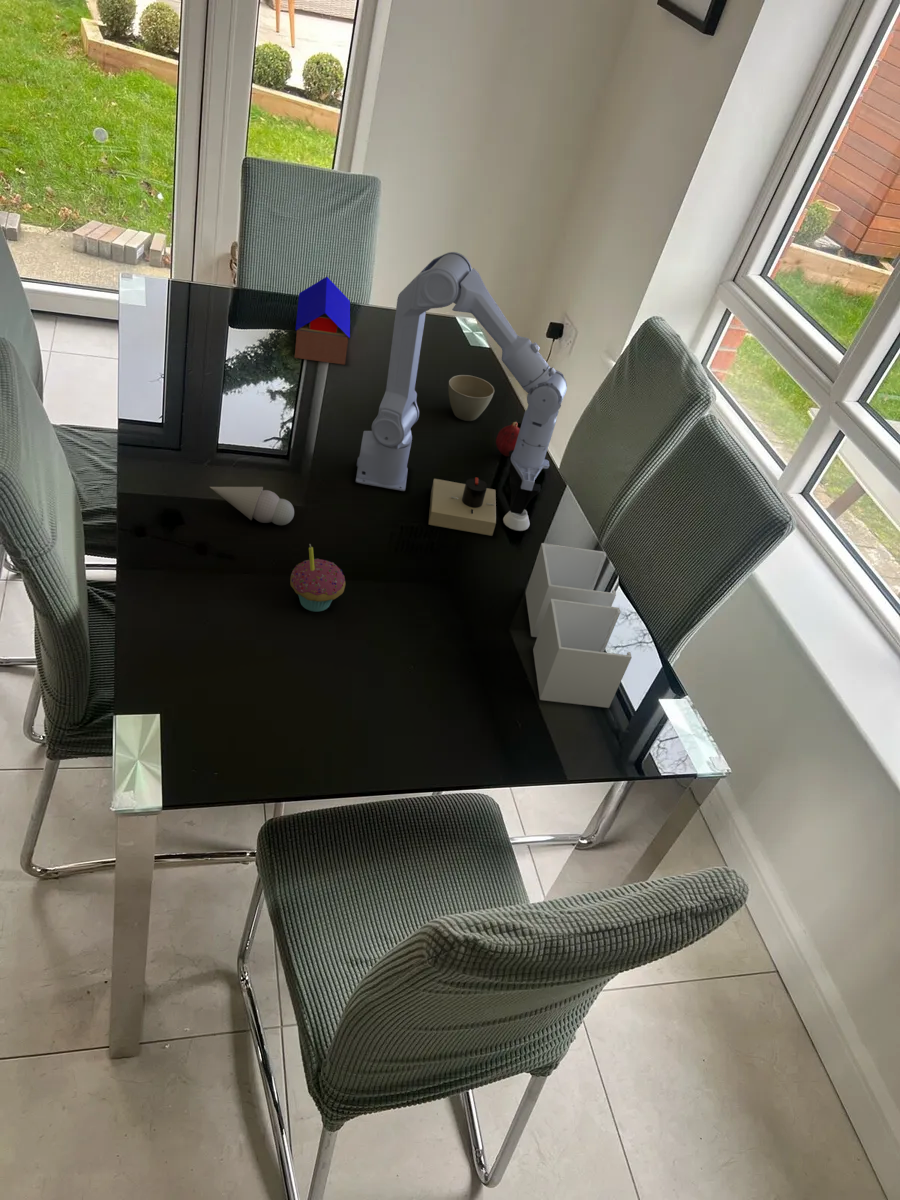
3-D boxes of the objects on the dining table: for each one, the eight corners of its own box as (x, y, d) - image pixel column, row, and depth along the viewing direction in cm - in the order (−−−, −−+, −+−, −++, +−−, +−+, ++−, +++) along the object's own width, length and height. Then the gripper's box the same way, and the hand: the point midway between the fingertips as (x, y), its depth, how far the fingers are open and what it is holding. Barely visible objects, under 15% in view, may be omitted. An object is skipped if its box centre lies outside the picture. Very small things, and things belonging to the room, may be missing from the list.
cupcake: (298, 623, 141) (305, 563, 133) (280, 588, 146) (286, 529, 138) (350, 613, 145) (359, 555, 137) (330, 580, 150) (338, 521, 142)
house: (293, 358, 205) (297, 308, 197) (296, 319, 219) (301, 272, 212) (346, 365, 207) (352, 317, 199) (346, 326, 222) (352, 280, 214)
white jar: (514, 513, 175) (497, 521, 172) (517, 500, 173) (501, 509, 170) (533, 526, 173) (517, 535, 170) (537, 514, 171) (521, 522, 168)
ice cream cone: (205, 504, 158) (288, 533, 161) (201, 502, 152) (287, 532, 155) (216, 471, 158) (299, 500, 161) (213, 468, 152) (299, 498, 155)
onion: (517, 466, 188) (526, 433, 183) (490, 459, 188) (499, 425, 183) (521, 453, 193) (530, 420, 187) (494, 445, 193) (503, 412, 188)
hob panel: (428, 524, 167) (431, 510, 165) (431, 491, 175) (434, 477, 173) (492, 536, 168) (496, 522, 166) (492, 502, 176) (495, 488, 174)
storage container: (525, 592, 157) (541, 542, 150) (586, 601, 159) (605, 552, 152) (539, 699, 138) (559, 648, 131) (608, 707, 140) (631, 657, 133)
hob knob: (482, 509, 168) (487, 491, 166) (461, 505, 168) (466, 487, 165) (482, 497, 172) (487, 479, 169) (461, 493, 171) (466, 475, 168)
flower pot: (495, 416, 202) (502, 388, 198) (472, 432, 195) (479, 402, 191) (458, 398, 205) (464, 369, 201) (434, 413, 198) (440, 383, 194)
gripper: (558, 464, 157) (537, 526, 165) (553, 422, 168) (534, 483, 177) (518, 456, 156) (499, 519, 165) (516, 414, 167) (499, 476, 176)
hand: (515, 500), depth 171 cm, fingers open, 7 cm apart
